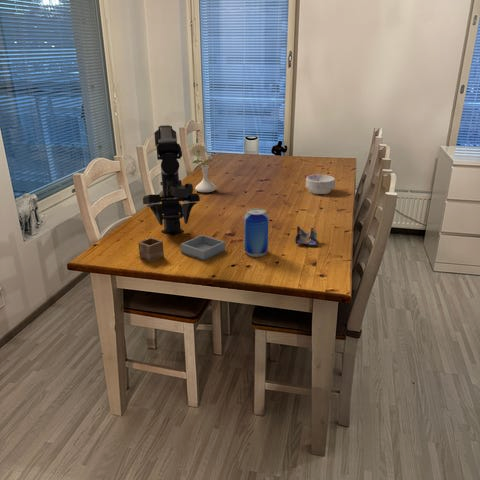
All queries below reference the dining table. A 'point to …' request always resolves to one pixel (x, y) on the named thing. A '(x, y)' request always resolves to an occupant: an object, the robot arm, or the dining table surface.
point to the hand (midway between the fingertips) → (174, 224)
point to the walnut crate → (151, 249)
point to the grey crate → (203, 247)
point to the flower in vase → (205, 183)
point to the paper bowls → (320, 184)
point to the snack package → (302, 237)
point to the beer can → (256, 232)
